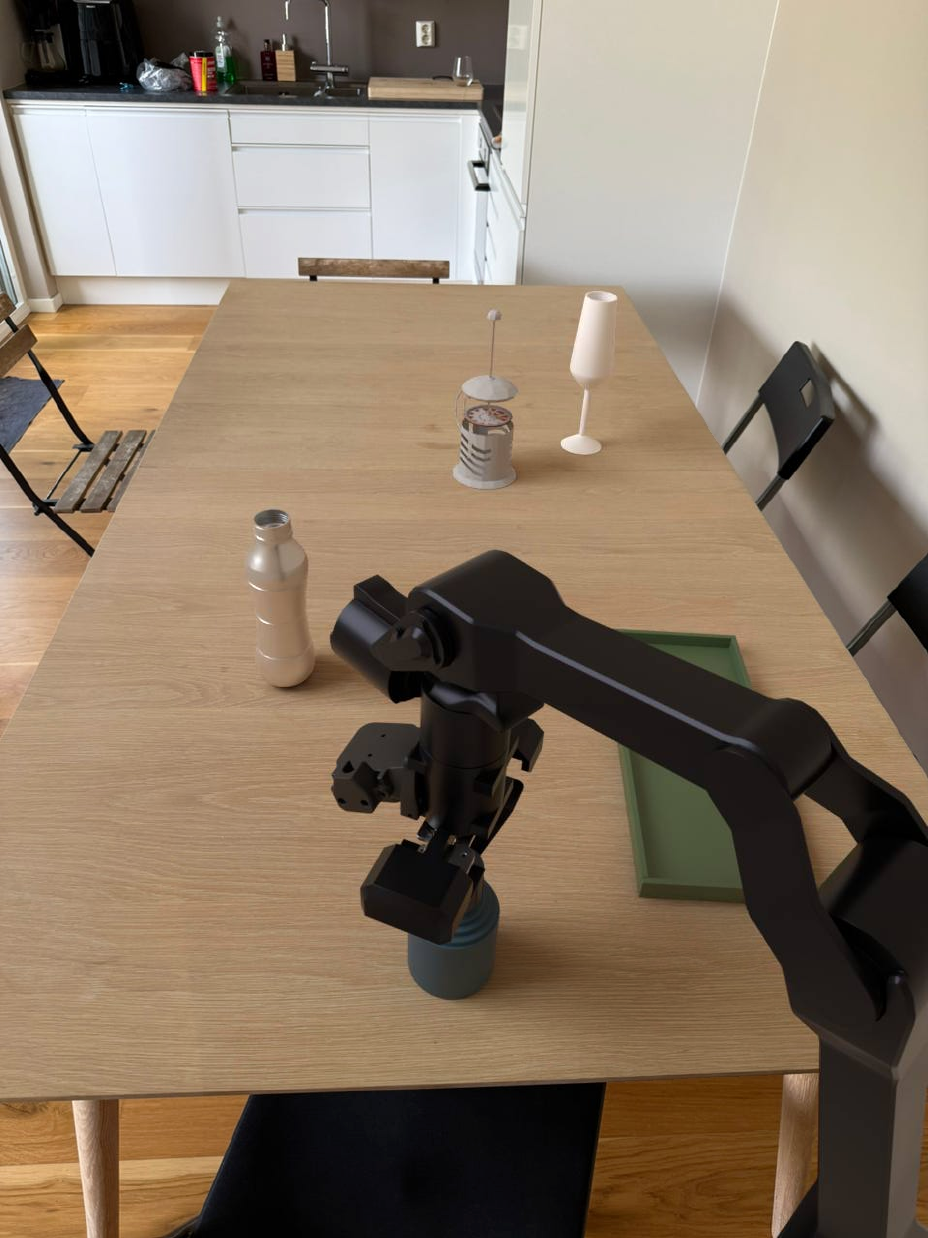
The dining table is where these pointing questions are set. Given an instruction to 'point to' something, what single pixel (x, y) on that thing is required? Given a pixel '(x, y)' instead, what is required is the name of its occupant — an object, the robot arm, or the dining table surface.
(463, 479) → the french press
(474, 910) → the flask
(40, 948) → the dining table surface
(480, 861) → the flask cap
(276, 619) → the plastic bottle
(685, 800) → the tray
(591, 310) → the champagne flute
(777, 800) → the robot arm
